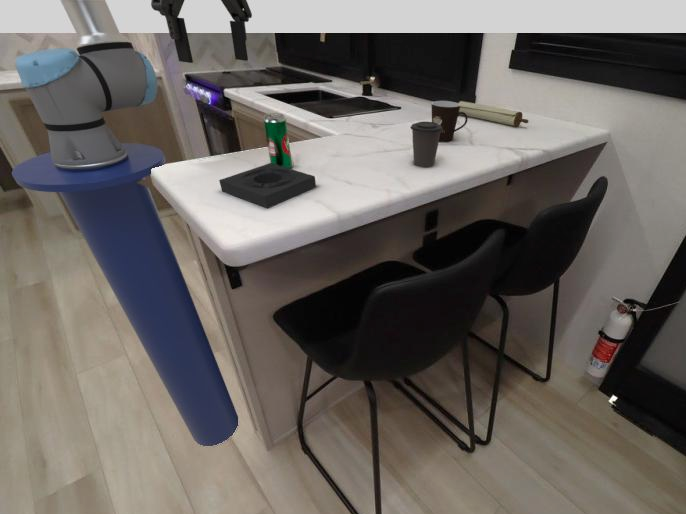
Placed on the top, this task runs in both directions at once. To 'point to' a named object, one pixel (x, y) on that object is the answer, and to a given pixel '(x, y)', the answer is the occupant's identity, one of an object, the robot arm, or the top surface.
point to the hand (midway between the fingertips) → (215, 61)
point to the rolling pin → (492, 113)
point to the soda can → (277, 139)
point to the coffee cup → (425, 143)
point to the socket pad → (268, 184)
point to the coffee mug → (446, 118)
